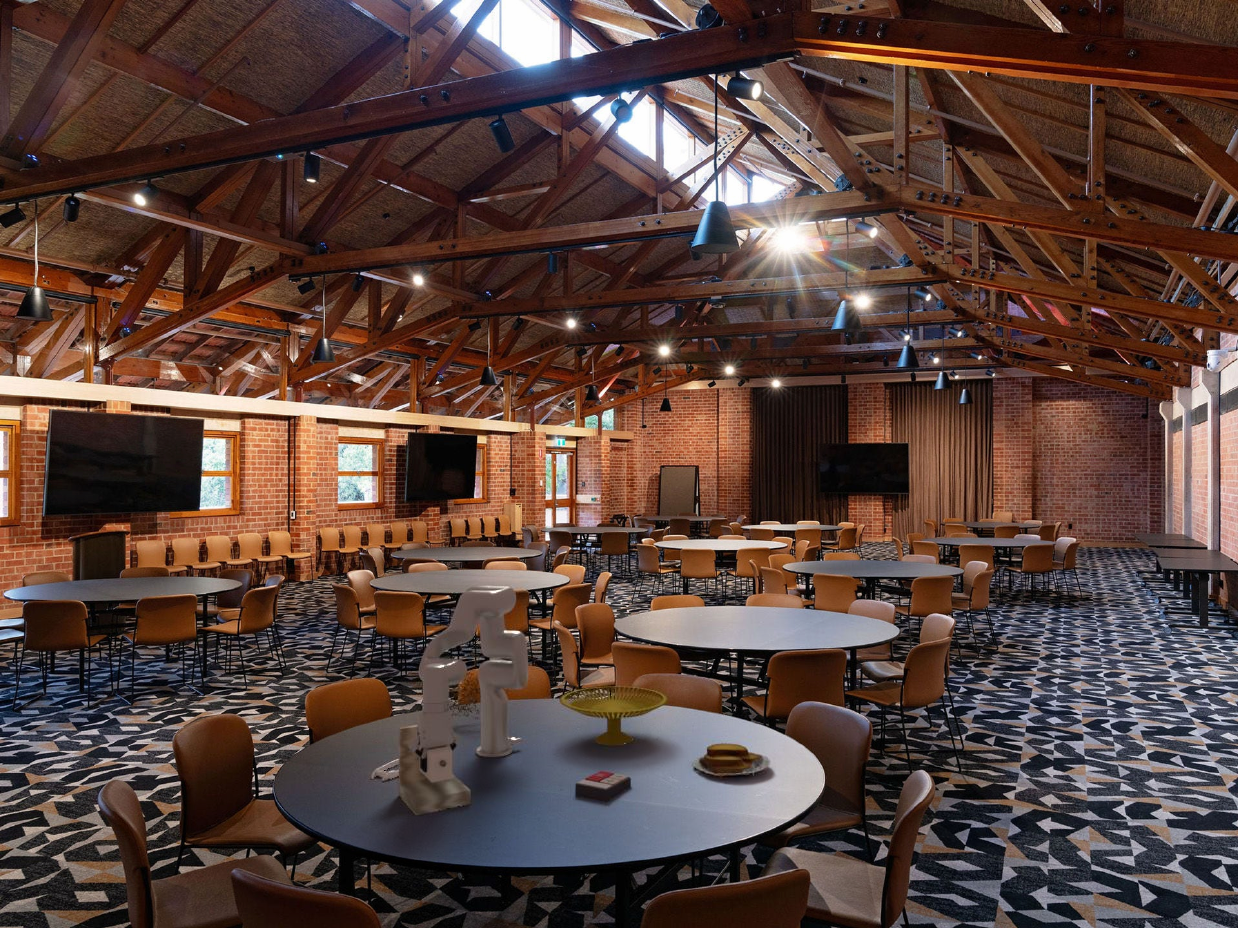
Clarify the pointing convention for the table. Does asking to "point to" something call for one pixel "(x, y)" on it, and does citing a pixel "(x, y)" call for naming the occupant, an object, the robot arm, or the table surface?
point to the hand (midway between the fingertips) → (435, 768)
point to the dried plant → (466, 696)
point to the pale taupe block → (438, 763)
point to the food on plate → (730, 761)
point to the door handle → (387, 774)
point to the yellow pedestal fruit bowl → (613, 709)
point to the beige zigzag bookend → (425, 781)
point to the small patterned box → (602, 786)
